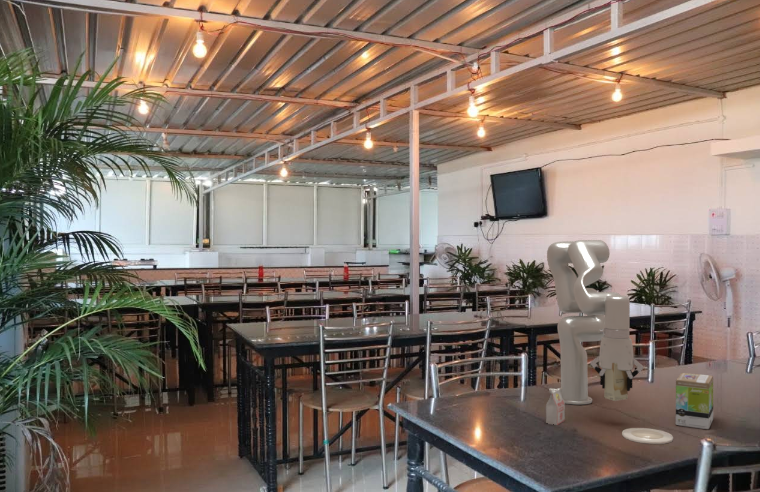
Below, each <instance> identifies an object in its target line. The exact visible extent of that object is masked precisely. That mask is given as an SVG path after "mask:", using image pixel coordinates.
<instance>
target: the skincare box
mask: <svg viewBox="0 0 760 492" xmlns="http://www.w3.org/2000/svg"><path fill="white" fill-rule="evenodd" d="M604 373H605V388H604V391H603V392H604V395H603V396H604V397H603V398H604V399H607V400H610V401H613V402H617V401H623V400H624V401H625V400H628V398H629V397H628V395H629V393H628V392H629V391H627V378H628V375H627V373H626V371H620V370H617V363H612V369H610V370H609V369H606V371H605V372H604Z"/></svg>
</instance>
